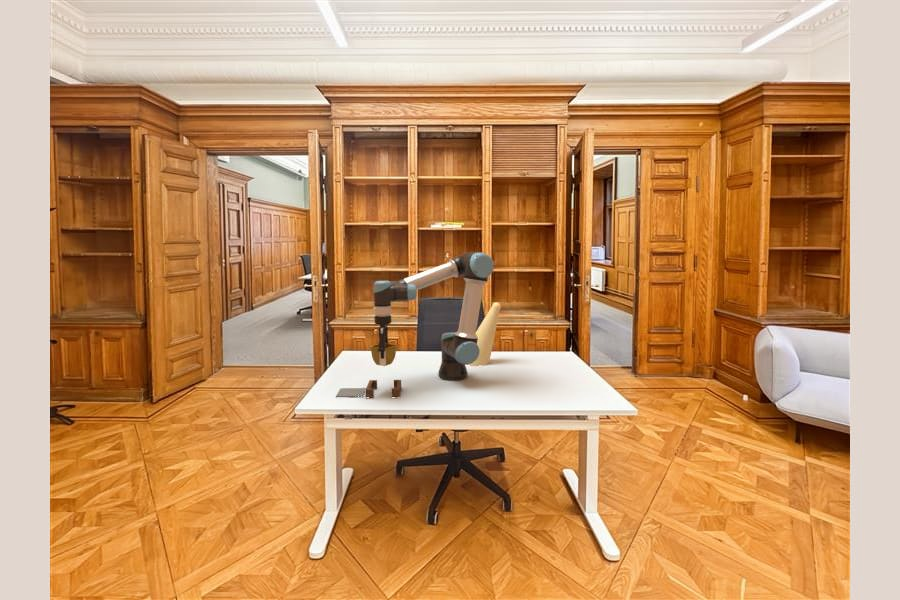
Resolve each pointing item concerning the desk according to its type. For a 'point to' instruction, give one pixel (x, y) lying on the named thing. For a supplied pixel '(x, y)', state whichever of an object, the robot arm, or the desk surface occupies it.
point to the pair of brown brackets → (373, 385)
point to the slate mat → (351, 392)
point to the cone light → (487, 335)
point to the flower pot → (390, 353)
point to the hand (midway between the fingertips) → (384, 362)
